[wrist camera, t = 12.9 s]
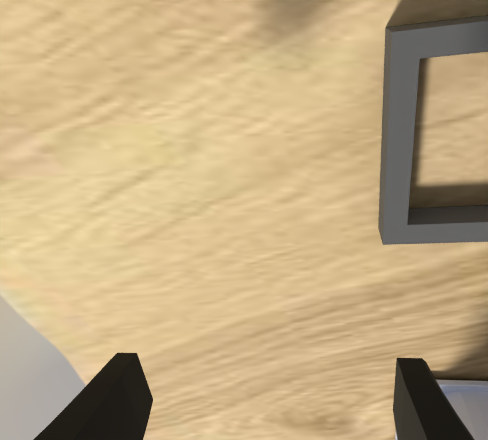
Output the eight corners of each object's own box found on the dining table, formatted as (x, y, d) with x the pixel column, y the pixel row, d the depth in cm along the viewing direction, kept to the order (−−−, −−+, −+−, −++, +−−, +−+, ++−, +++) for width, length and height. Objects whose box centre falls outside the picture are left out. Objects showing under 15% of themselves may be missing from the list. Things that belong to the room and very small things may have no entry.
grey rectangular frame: (561, 221, 19) (579, 239, 18) (378, 227, 20) (382, 244, 19) (624, -1, 15) (653, 1, 13) (385, 27, 16) (391, 32, 15)
